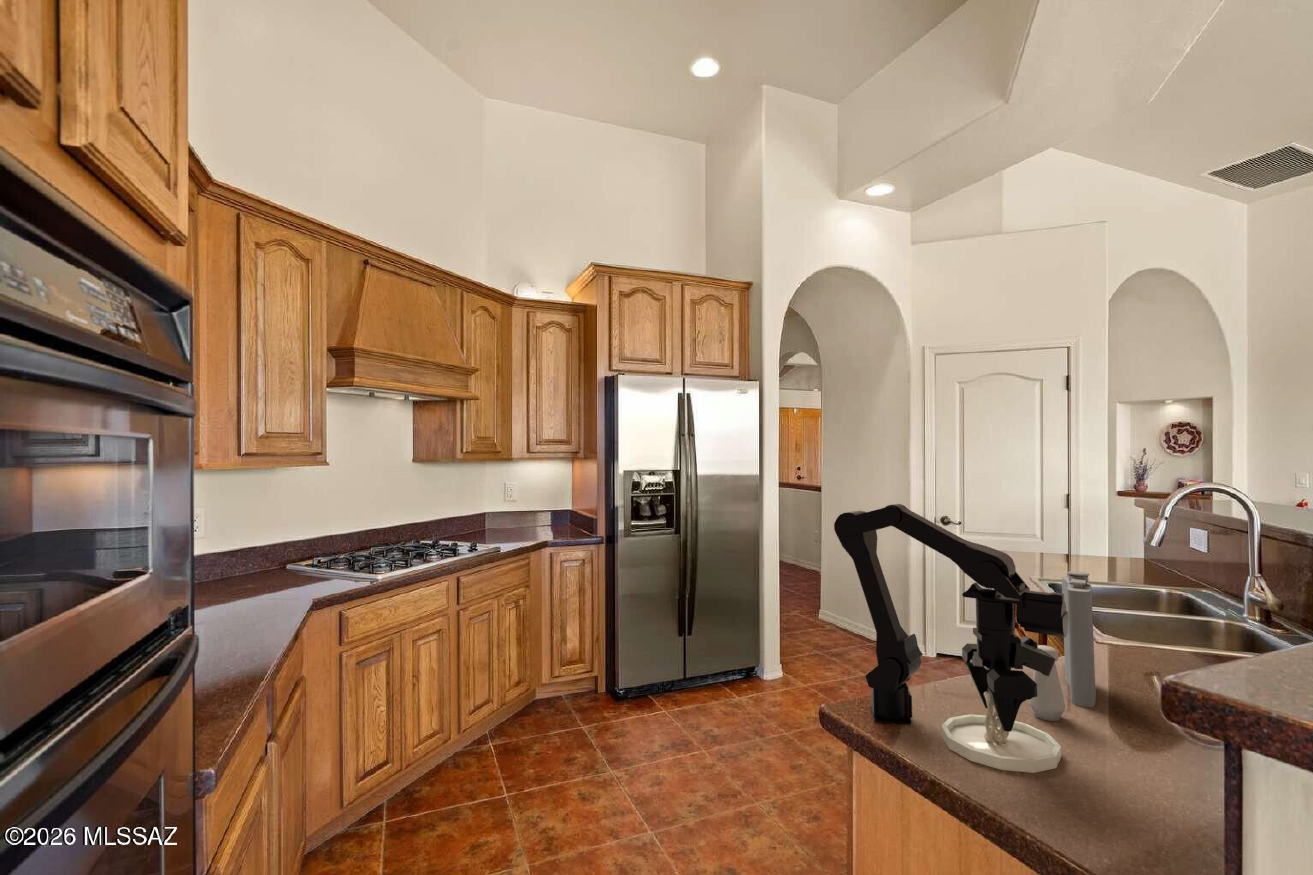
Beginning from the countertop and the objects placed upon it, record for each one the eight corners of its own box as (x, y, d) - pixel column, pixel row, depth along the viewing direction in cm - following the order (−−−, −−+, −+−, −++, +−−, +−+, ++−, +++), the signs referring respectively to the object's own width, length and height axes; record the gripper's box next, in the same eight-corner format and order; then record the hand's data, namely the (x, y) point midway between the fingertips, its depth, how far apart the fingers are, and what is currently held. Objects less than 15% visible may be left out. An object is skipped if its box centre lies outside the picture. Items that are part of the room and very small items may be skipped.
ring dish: (958, 765, 96) (958, 754, 96) (933, 721, 113) (933, 711, 113) (1079, 776, 93) (1078, 764, 93) (1034, 729, 109) (1034, 718, 109)
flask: (1100, 709, 118) (1095, 579, 119) (1071, 704, 120) (1067, 577, 122) (1090, 681, 133) (1085, 566, 134) (1064, 677, 135) (1060, 564, 137)
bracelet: (982, 747, 101) (982, 699, 101) (985, 729, 108) (985, 683, 108) (1010, 753, 99) (1009, 704, 99) (1011, 734, 106) (1011, 688, 106)
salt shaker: (1071, 724, 111) (1068, 652, 112) (1036, 721, 112) (1034, 650, 113) (1057, 711, 117) (1054, 643, 118) (1024, 709, 118) (1022, 641, 119)
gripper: (1073, 645, 93) (1076, 749, 92) (1026, 615, 111) (1028, 701, 111) (993, 641, 95) (996, 742, 95) (960, 612, 114) (962, 697, 113)
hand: (997, 719), depth 103 cm, fingers open, 9 cm apart
